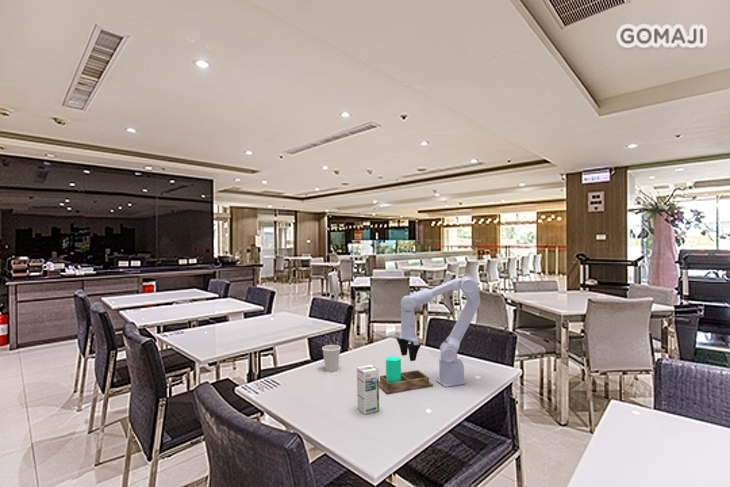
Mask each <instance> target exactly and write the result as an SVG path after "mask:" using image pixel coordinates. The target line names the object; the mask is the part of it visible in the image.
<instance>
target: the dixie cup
mask: <svg viewBox="0 0 730 487" xmlns="http://www.w3.org/2000/svg"><path fill="white" fill-rule="evenodd" d="M321 349H322V353H323V362H324V370H325V371H326V372H330V373H333V372H337V371H338V370H339V361H340V354H341V346H340V345H338V344H327V345H324V346H322V348H321Z"/></svg>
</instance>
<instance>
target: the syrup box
mask: <svg viewBox="0 0 730 487" xmlns="http://www.w3.org/2000/svg"><path fill="white" fill-rule="evenodd" d="M379 372H380V371H379V368H377V367H376V366H375V365H372V364H369V365H363V366H358V367H356V396H357V409H358V410H359V411H360V412H361V413H363V415H368V414H371V413H375V412H379V411H380V388H379V382H380V376H379V374H380V373H379Z"/></svg>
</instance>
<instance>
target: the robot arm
mask: <svg viewBox="0 0 730 487" xmlns="http://www.w3.org/2000/svg"><path fill="white" fill-rule="evenodd" d="M460 290H461V292H463V295H464V296H465V300H466V303H465V305H464V306H463V308H462V310H461V313H460V314H459V316H458V318H457V320H456V322H455V324H454V325H453V328H452V330H451V331H450V334H449V335H448V336H447V337H446V339H445V340H444V341H443V342H442V343H441V344H440V346H439V352H440V357H439V358H438V360H439V361H438V363H439V364H438V366H439V369H438V372H439V373H438V375H439V378H435V380H434V381H436V382H438V383H439V384H441V386H444V387H445V388H446V387H447V388H448V387H453V386H459V385H465V384H466V382H465V366H464V365H465V364H464V363H463V361H462V360H461V359H460V358H458V351H459V349H460V345H461V342H462V340H463V338H464V336H465V334H466V332H467V330H468V328H469V326H470V324H471V322H472V320H473V319H474V316H475V314H476V313H477V311H478V309H479V307H480V305H481V296H480V287H479V285H478V284H477V282H476V280H475V279H473V278H472V277H471V276H469V275H463V276H461V277H457V278H454V279H452V280H449V281H447V282H444V283H442V284H440V285H438V286H436V287H434V288H431V289H429V288H426V287H425V288H424V287H421V288H420V290H417V291H416V292H413V293H412V292H411V293H410V292H409V295H404V296H403V297H402V298H401V301H400V307H401V309H400V311H401V314H400V321H401V322H400V325H401V326H400V328H401V330H400V331H398V338H396V341H397V343H398V347H399V349H400V354H401V356H407V355H408V358H409V361H410V362H415V361H416V359H417V355H418V353H419V350H420V347H421V345H422V344H421V343H420V339H418V337H417V335H416V314H415V308H418V307H420V306H423V305H426V304H428V303H431V302H432V301H433V299H434V298H435V297H437V296H440V295H442V294H446V293H447V292H451V291H454V292H459V293H460Z"/></svg>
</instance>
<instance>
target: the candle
mask: <svg viewBox="0 0 730 487" xmlns="http://www.w3.org/2000/svg"><path fill="white" fill-rule="evenodd" d="M401 373H402V361H401V358H400V357H399V356H394V355H392V356H391V355H390V356H387V357H385V375H386V380H387V381H388V382H389V383H394V382H400V381H401Z"/></svg>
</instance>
